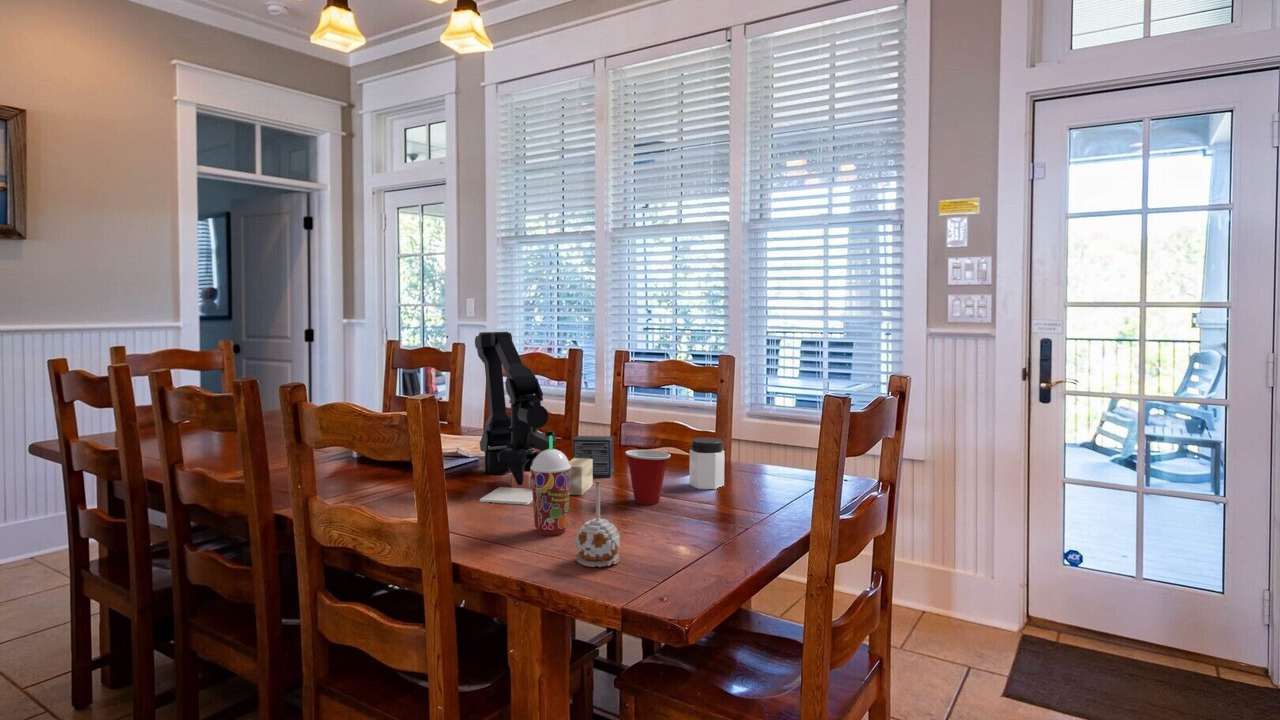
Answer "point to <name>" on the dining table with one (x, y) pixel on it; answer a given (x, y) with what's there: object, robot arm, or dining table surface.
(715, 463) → the jar
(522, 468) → the robot arm
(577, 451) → the small box
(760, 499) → the dining table surface
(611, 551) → the caramel apple
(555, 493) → the smoothie
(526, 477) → the pink striped block
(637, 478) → the plastic cup
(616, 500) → the dining table surface
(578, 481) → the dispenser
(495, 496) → the tile
